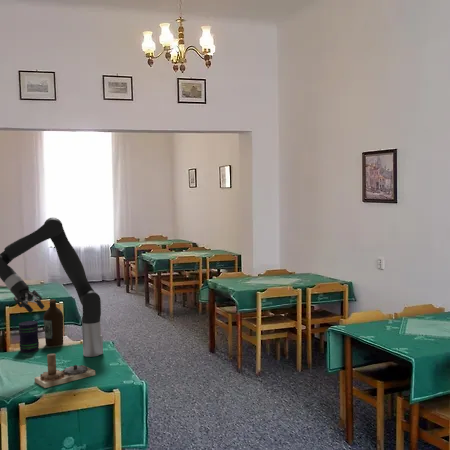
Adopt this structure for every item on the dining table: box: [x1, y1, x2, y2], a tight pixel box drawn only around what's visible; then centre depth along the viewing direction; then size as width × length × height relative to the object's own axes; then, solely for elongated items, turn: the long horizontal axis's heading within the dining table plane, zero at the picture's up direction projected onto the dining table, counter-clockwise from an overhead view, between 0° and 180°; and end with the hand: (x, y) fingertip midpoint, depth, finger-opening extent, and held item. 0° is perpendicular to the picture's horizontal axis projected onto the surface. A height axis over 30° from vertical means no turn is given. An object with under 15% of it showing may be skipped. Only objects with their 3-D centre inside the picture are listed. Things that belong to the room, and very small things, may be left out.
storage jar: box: [18, 320, 40, 354], centre depth 297 cm, size 10×10×15 cm
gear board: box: [34, 364, 96, 389], centre depth 249 cm, size 24×11×5 cm, turn 132°
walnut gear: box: [39, 353, 64, 381], centre depth 245 cm, size 10×10×10 cm
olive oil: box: [42, 298, 64, 347], centre depth 308 cm, size 11×11×25 cm
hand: (37, 309), depth 263 cm, fingers open, 8 cm apart
